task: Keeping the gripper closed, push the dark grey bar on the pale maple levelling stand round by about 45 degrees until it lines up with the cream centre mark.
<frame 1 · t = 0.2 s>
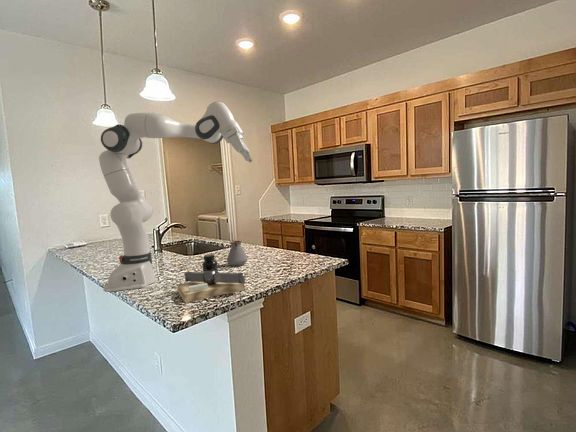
hand: (249, 161, 148), 54 cm above the worktop, tool tilted 30°, fingers open, 8 cm apart
levelling stand: (211, 290, 136), on the worktop
dark grey bar: (214, 277, 135), point 6 cm above the worktop, hinge at -45.0°
supplement bottle: (211, 281, 151), on the worktop
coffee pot: (237, 266, 175), on the worktop
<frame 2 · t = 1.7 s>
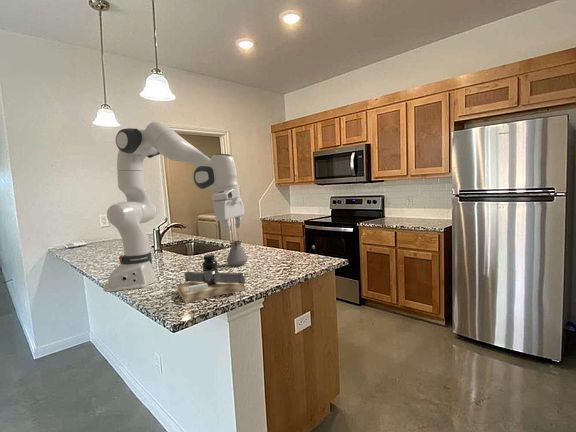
hand: (233, 229, 128), 26 cm above the worktop, tool pointing down, fingers open, 8 cm apart
nothing on the worktop moved.
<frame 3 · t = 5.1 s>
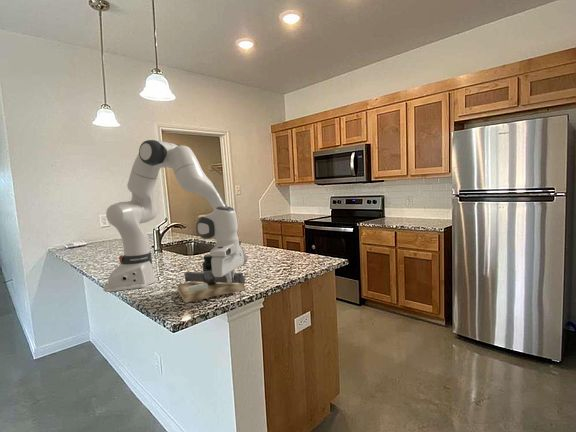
hand: (230, 281, 129), 5 cm above the worktop, tool pointing down, fingers closed
dark grey bar: (214, 277, 135), point 6 cm above the worktop, hinge at -45.0°, touching gripper
everything else where it was.
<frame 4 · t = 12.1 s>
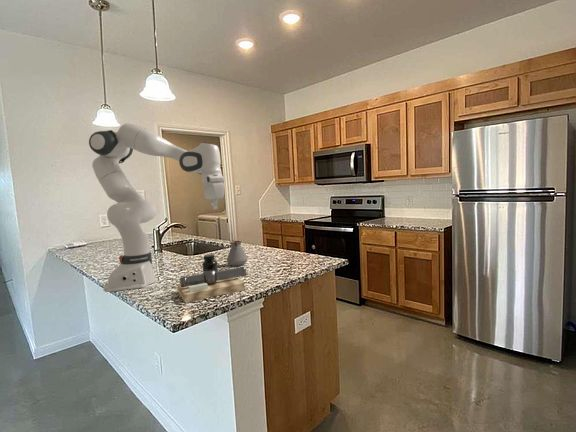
hand: (214, 209, 149), 33 cm above the worktop, tool pointing down, fingers closed
dark grey bar: (214, 276, 136), point 6 cm above the worktop, hinge at -1.8°
everything else where it was.
at the end: dark grey bar at -2° (first picture: -45°); supplement bottle moved 0.2 cm from its start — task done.
